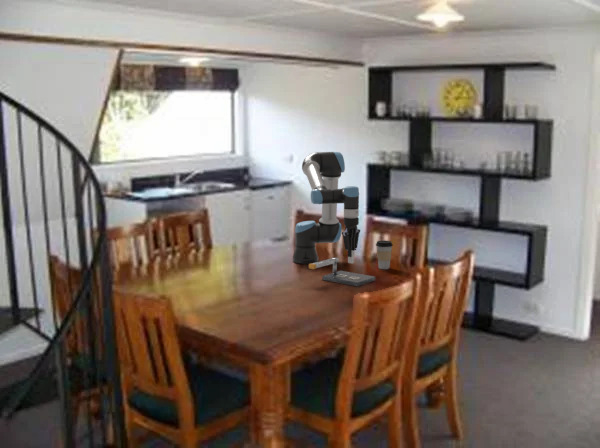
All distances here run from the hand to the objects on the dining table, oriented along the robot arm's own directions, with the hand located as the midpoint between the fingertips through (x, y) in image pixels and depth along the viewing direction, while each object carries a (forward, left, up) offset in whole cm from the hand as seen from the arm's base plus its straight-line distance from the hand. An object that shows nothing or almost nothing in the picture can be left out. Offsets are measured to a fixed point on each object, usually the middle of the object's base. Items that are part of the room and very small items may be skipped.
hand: (351, 262), depth 337 cm
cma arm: (-12, -6, -2) cm, 14 cm away
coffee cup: (-4, +37, -10) cm, 39 cm away
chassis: (-3, +2, -10) cm, 11 cm away
